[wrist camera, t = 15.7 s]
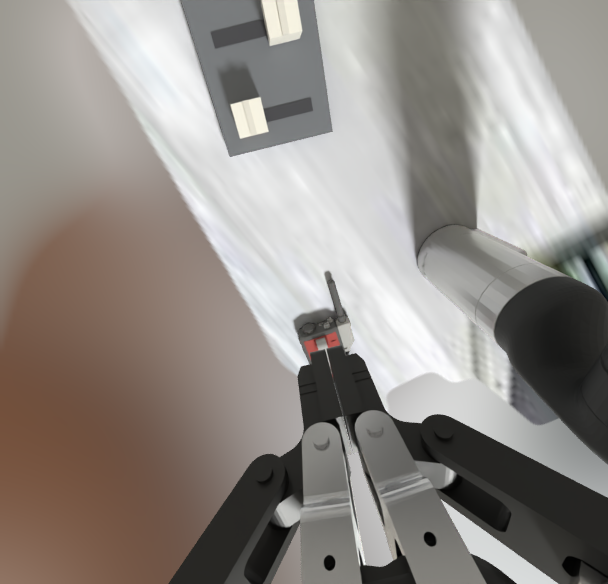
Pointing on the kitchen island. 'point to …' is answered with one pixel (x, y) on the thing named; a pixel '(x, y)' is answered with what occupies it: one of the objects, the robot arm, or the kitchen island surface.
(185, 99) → the kitchen island surface
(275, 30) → the tab middle
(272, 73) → the switch panel
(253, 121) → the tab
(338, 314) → the walkie-talkie
